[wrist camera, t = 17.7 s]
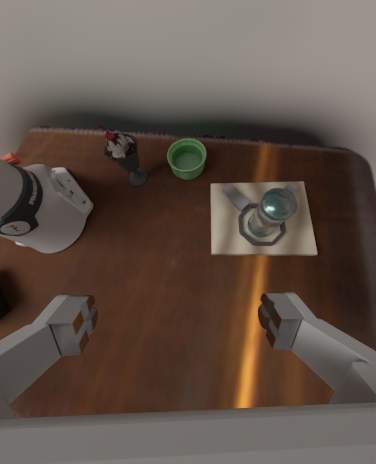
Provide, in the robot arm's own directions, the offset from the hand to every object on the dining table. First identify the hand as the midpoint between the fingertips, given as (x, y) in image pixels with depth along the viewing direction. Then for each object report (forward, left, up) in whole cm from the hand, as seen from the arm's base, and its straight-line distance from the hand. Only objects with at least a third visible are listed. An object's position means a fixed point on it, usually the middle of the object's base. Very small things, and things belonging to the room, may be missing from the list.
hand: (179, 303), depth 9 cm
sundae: (-31, +1, -29) cm, 42 cm away
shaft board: (-7, +19, -28) cm, 35 cm away
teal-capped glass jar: (-5, +18, -27) cm, 33 cm away
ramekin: (-27, +13, -29) cm, 41 cm away
